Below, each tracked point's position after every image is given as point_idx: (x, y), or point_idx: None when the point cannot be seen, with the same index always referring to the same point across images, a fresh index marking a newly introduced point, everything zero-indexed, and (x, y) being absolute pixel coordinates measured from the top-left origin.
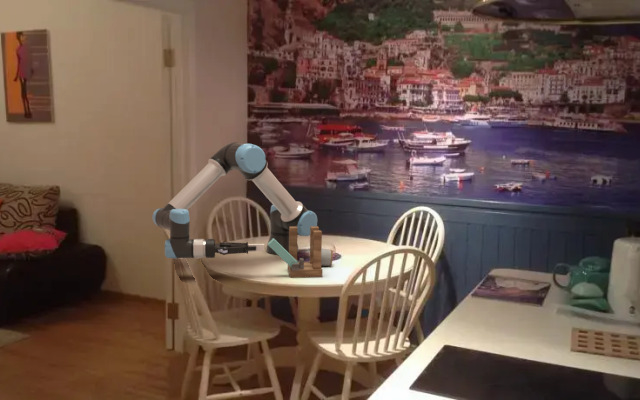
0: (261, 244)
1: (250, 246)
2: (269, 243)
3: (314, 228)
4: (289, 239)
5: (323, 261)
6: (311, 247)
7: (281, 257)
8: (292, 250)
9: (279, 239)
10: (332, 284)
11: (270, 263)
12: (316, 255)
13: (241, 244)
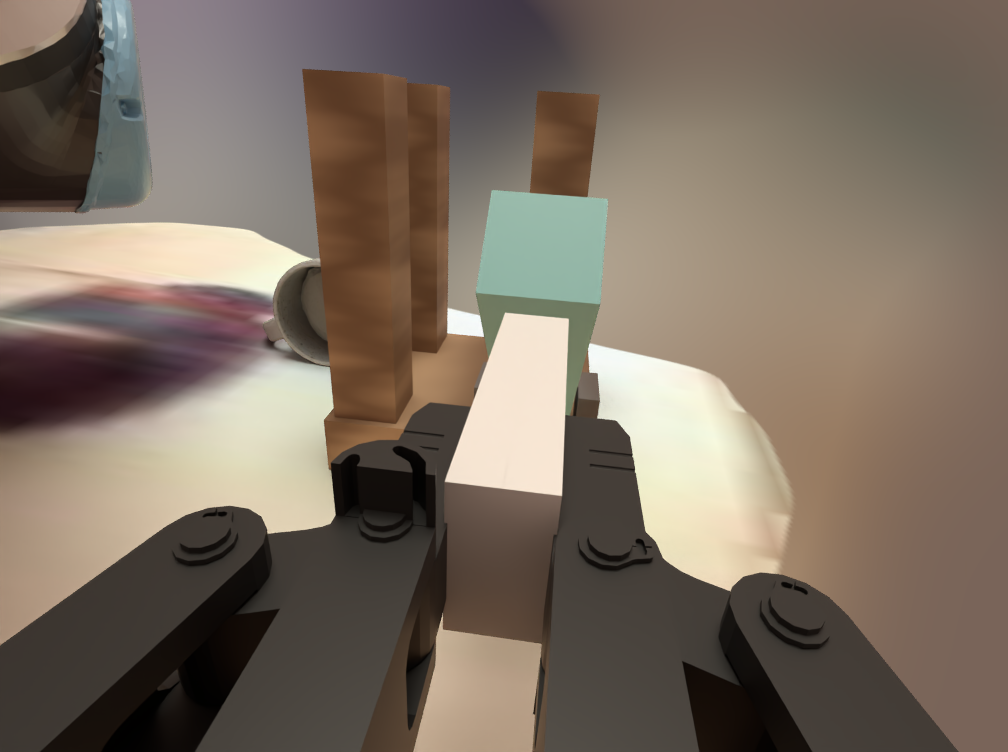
0: (543, 335)
1: (563, 492)
2: (574, 274)
3: (442, 91)
4: (370, 209)
5: None
6: (437, 243)
7: (575, 387)
8: (400, 304)
9: None
10: (721, 385)
11: (47, 532)
12: None
13: (355, 685)
